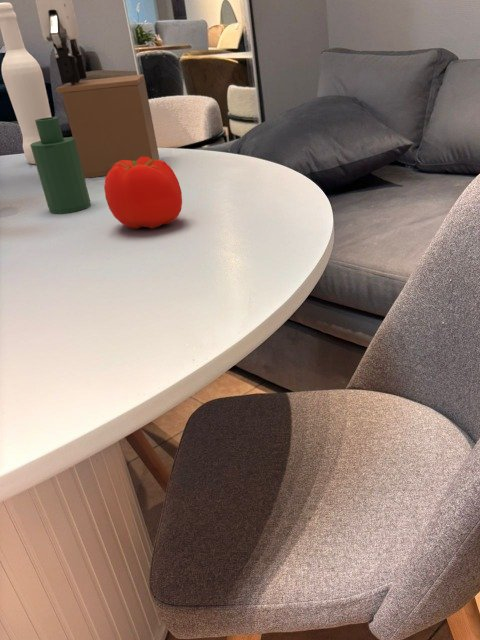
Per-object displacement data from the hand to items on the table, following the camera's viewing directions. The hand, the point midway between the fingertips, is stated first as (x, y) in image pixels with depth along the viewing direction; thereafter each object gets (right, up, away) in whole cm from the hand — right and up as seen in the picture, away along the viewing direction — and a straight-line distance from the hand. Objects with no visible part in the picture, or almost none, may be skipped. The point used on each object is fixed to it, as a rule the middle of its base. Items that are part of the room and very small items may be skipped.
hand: (74, 79), depth 119 cm
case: (+7, -13, +9) cm, 17 cm away
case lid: (+5, -1, +1) cm, 5 cm away
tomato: (+21, -35, -30) cm, 51 cm away
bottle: (-14, -7, +23) cm, 28 cm away
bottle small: (+5, -29, -17) cm, 34 cm away
